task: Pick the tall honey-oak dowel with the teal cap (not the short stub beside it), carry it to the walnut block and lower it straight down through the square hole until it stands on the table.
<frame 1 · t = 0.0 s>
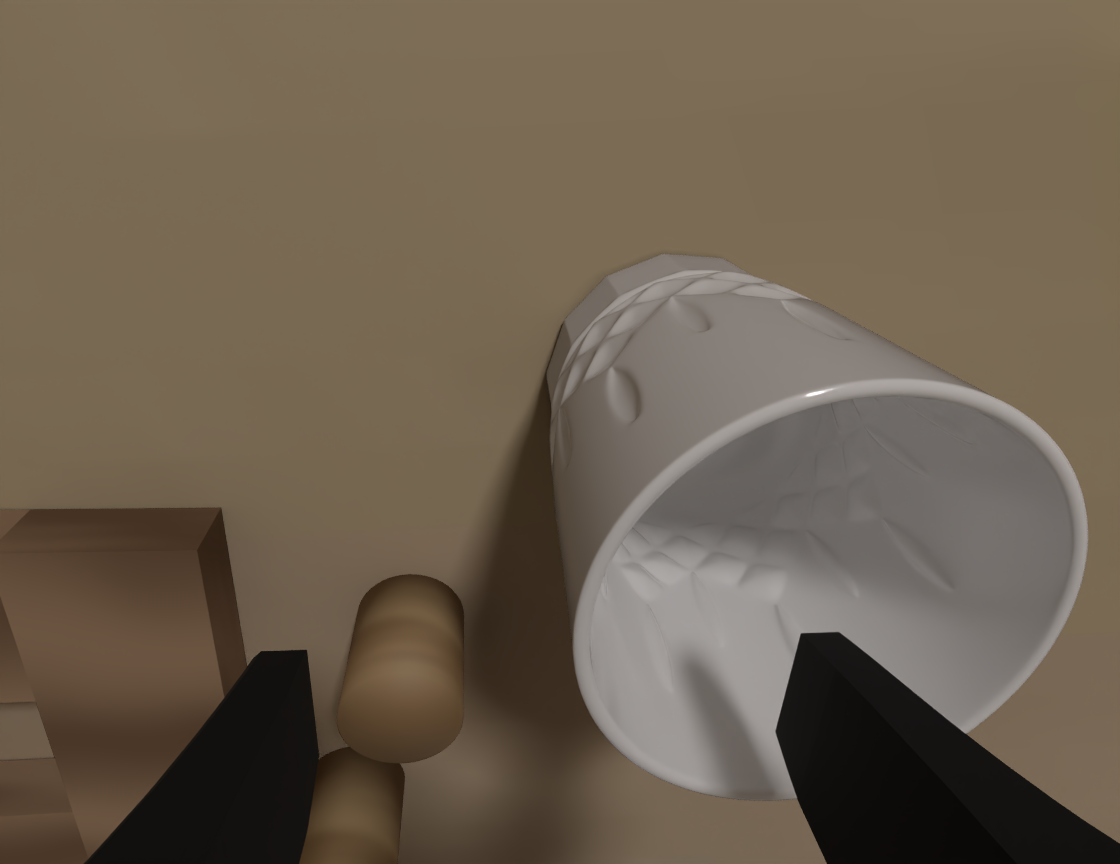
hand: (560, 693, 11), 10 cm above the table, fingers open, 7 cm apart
short dowel: (411, 616, 22), on the table
walnut block: (9, 708, 22), on the table
white cup: (667, 372, 20), on the table
long dowel: (357, 779, 25), on the table
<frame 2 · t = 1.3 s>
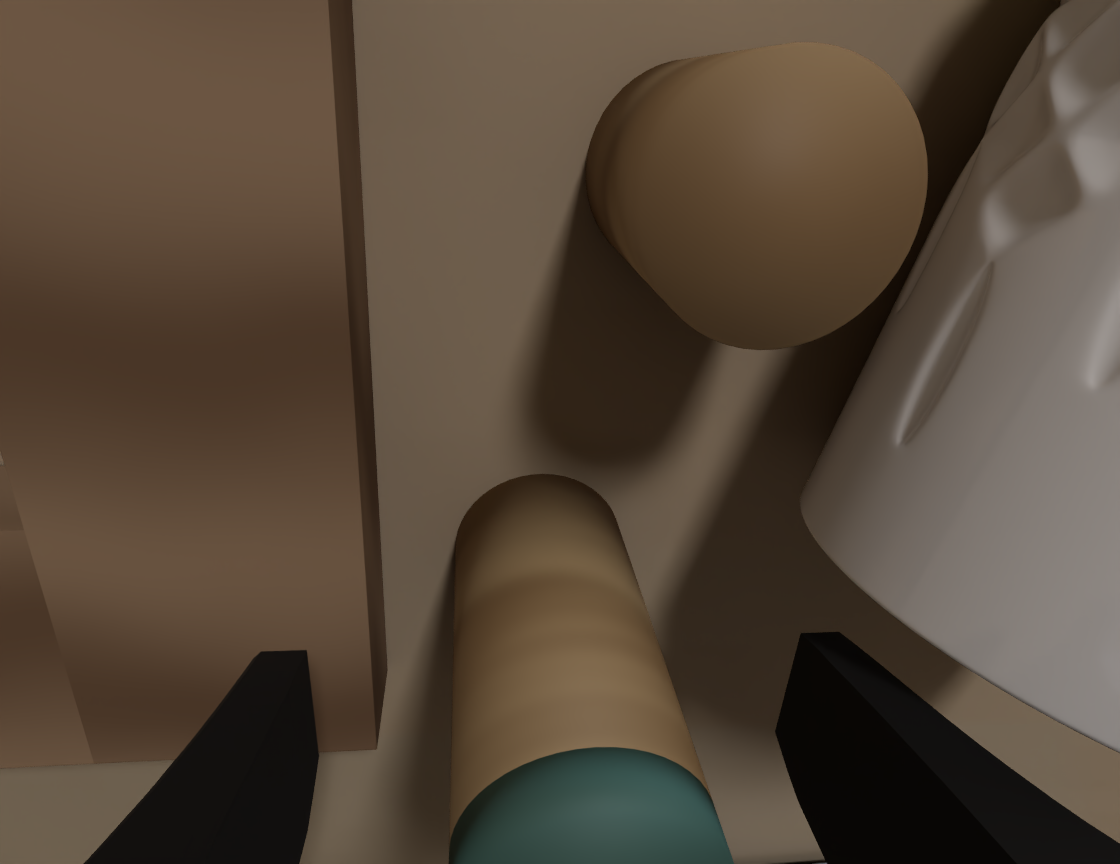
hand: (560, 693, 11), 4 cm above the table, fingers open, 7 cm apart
short dowel: (686, 172, 12), on the table
long dowel: (538, 546, 14), on the table
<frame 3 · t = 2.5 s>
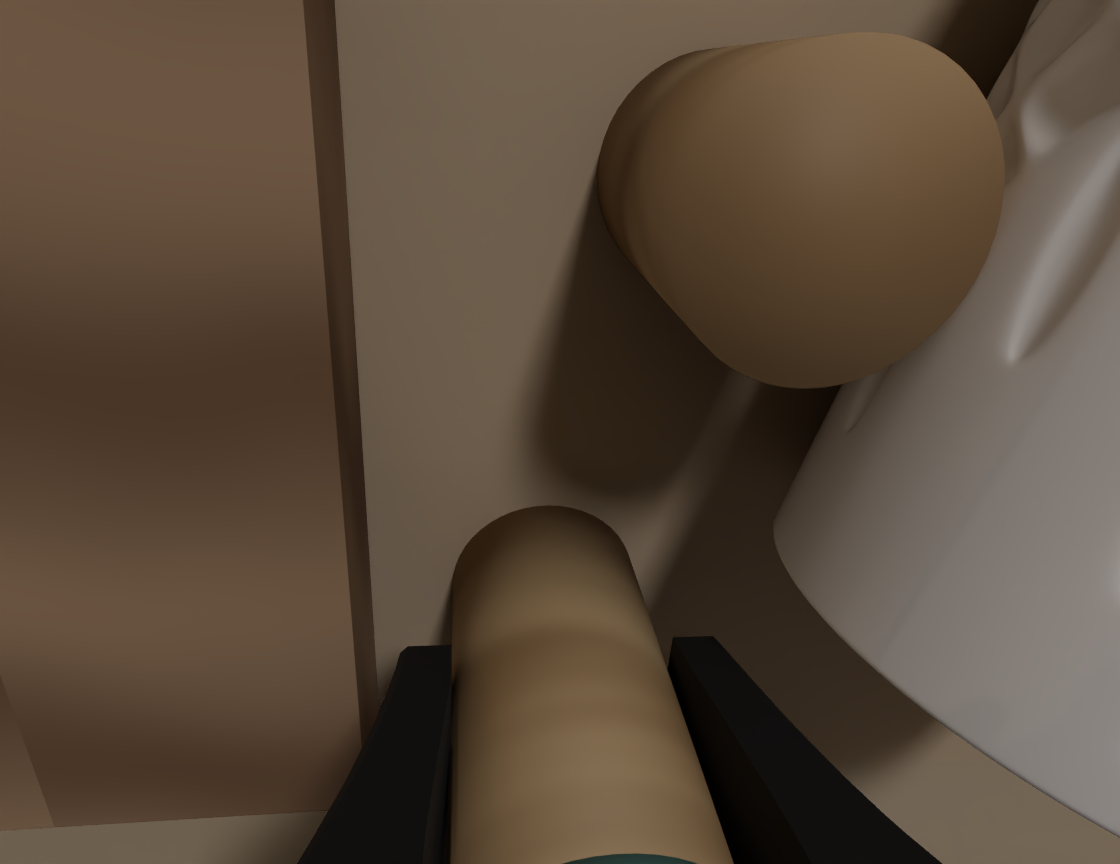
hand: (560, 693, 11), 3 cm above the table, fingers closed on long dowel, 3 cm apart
short dowel: (708, 176, 10), on the table
long dowel: (543, 582, 13), on the table, touching gripper
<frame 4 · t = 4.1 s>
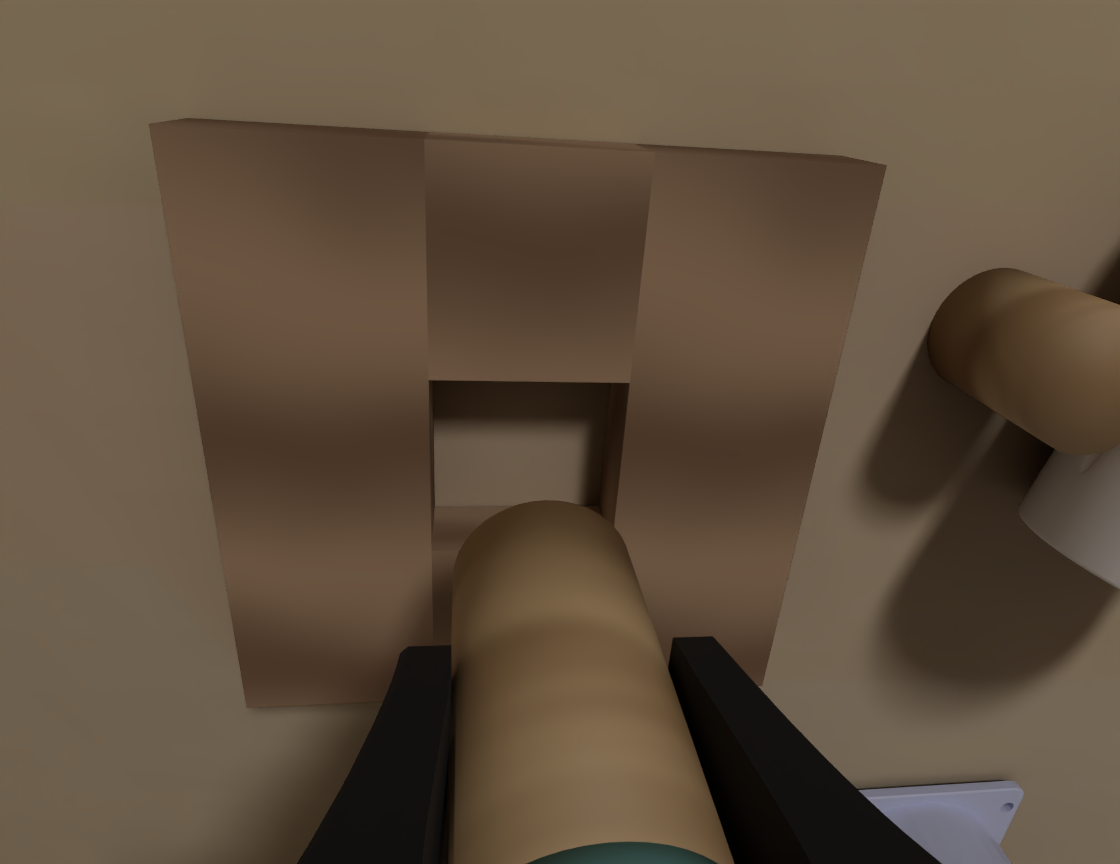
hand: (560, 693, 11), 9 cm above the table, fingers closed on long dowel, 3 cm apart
short dowel: (986, 329, 19), on the table
walnut block: (520, 432, 19), on the table
long dowel: (542, 576, 13), point 6 cm above the table, touching gripper
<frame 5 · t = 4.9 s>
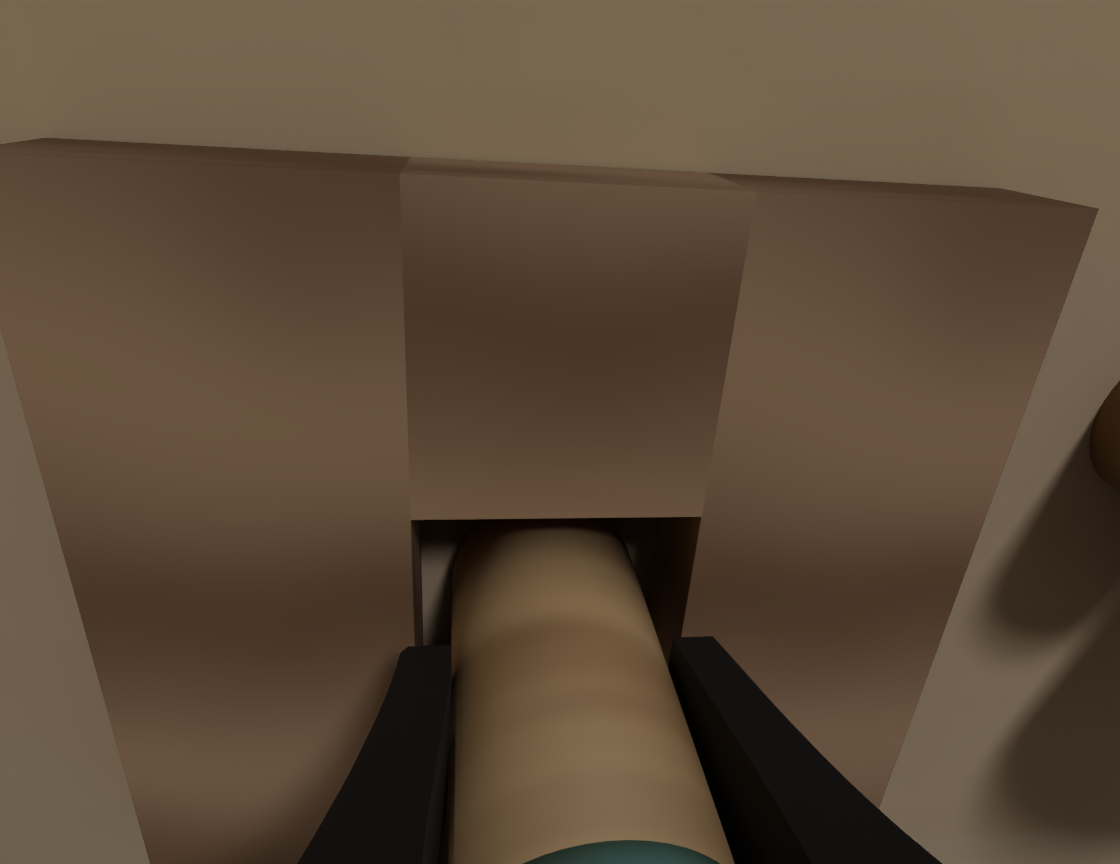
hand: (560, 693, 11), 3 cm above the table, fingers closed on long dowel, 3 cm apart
walnut block: (540, 560, 14), on the table
long dowel: (542, 576, 13), point 1 cm above the table, touching gripper
when the fingers open (3 cm above the table, at t = 5.6 s): long dowel stays where it is, resting in walnut block.
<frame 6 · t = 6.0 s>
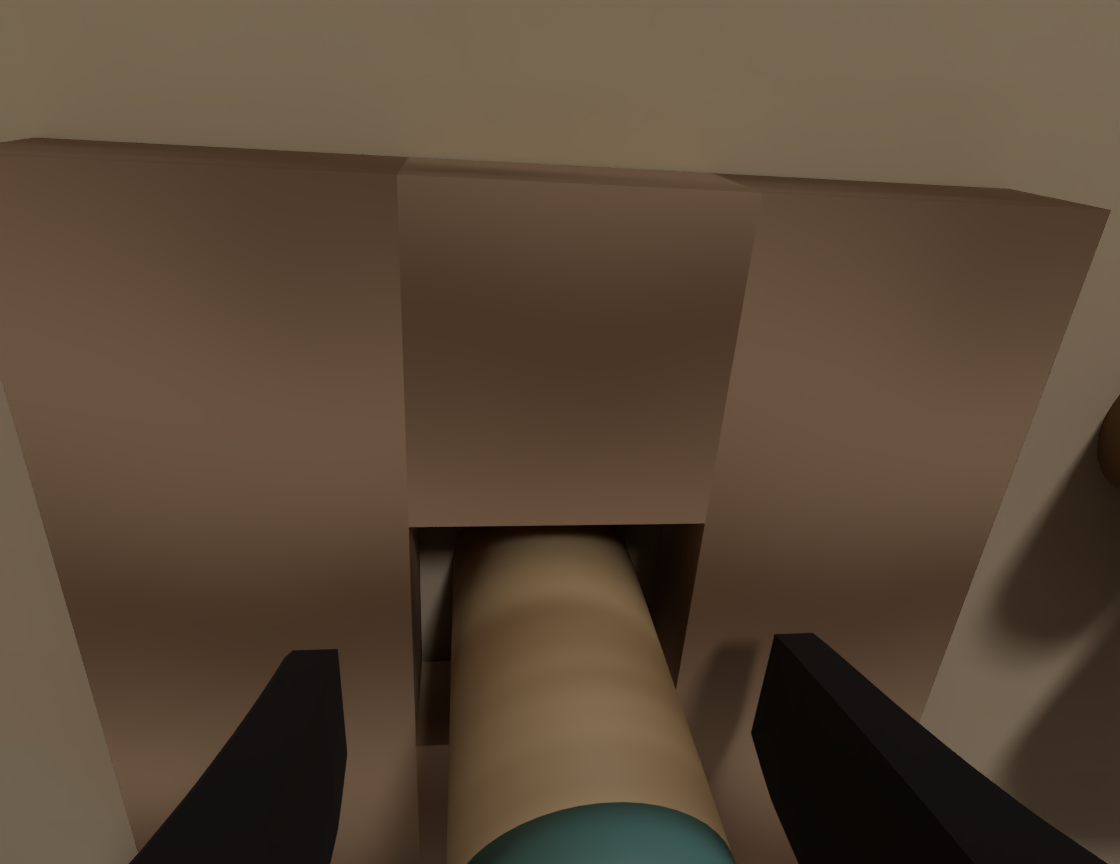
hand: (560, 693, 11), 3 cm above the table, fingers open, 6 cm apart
walnut block: (540, 566, 13), on the table
long dowel: (540, 563, 13), resting in walnut block
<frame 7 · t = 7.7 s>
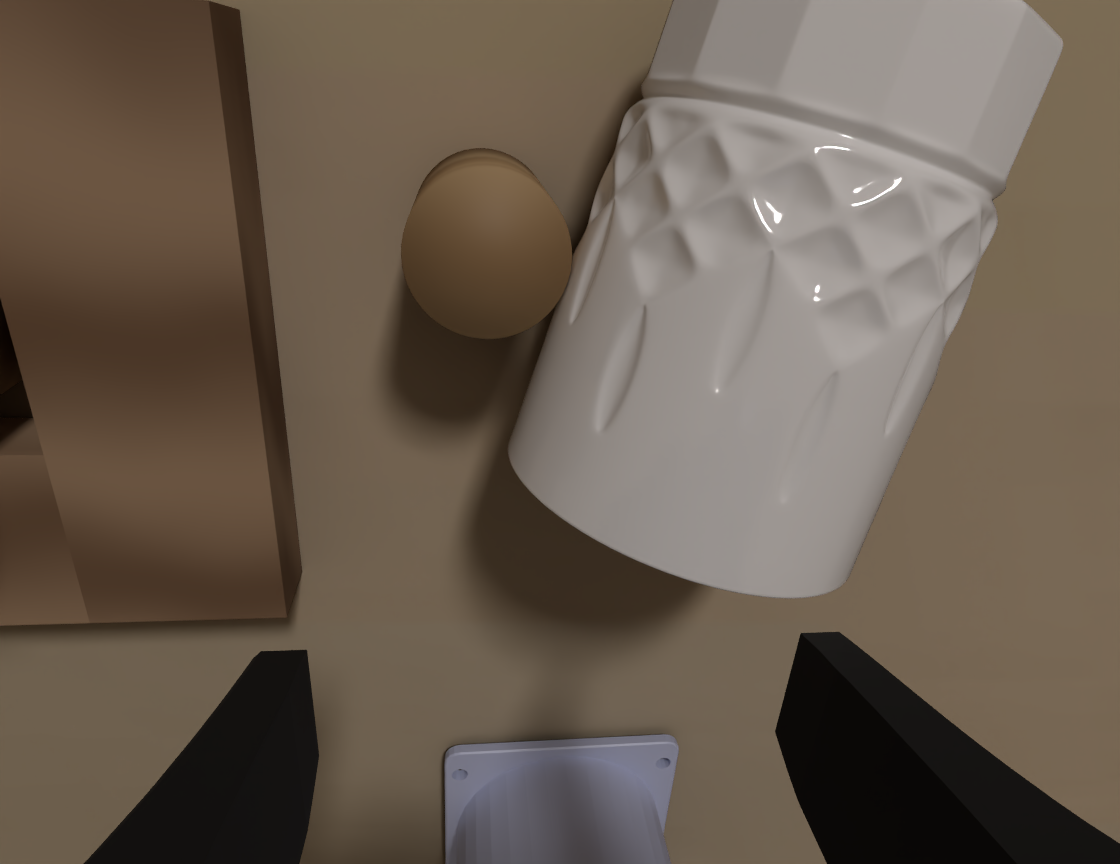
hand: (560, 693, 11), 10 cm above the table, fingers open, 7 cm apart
short dowel: (482, 220, 17), on the table
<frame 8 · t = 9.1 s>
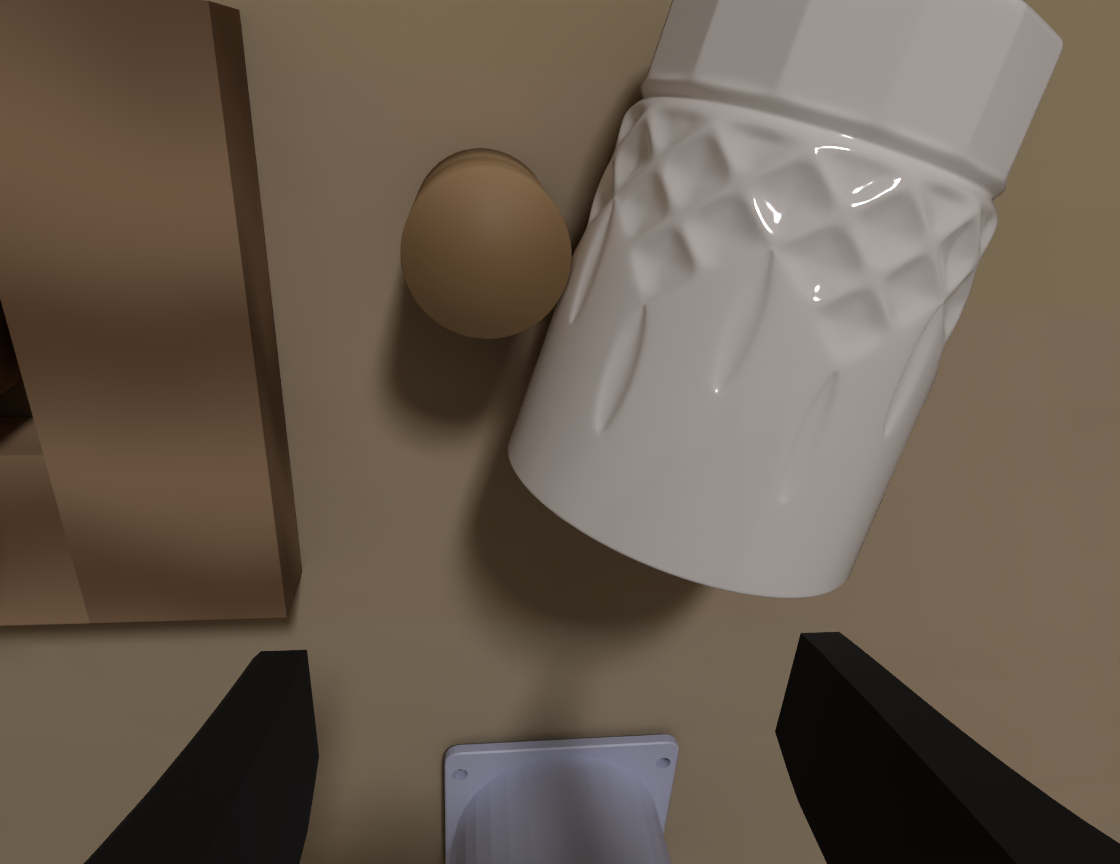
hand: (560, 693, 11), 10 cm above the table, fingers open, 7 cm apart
short dowel: (482, 220, 17), on the table
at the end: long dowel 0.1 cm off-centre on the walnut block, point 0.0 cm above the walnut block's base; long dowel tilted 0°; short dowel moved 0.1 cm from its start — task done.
